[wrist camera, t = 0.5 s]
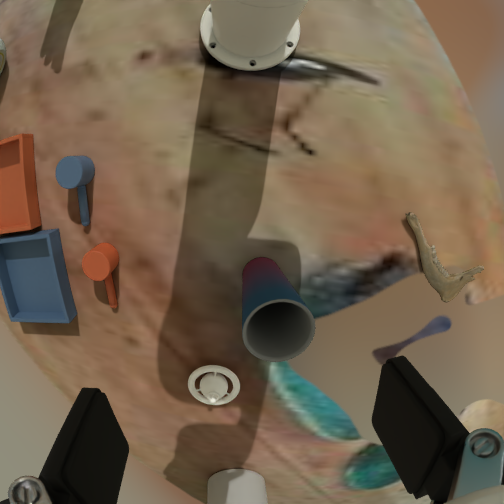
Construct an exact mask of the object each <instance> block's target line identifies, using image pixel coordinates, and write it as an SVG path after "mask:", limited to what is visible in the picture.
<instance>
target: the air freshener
mask: <svg viewBox="0 0 504 504" xmlns="http://www.w3.org/2000/svg"><path fill="white" fill-rule="evenodd" d="M5 60H6V48H5V44H4V42H3V40H2V39H1V38H0V75H1V72H2V70H3V67H4V64H5Z"/></svg>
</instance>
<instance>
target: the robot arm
mask: <svg viewBox="0 0 504 504" xmlns="http://www.w3.org/2000/svg"><path fill="white" fill-rule="evenodd" d="M307 2H308V0H211V4H210V5H209V6H208V7H207V9H206V10H205V12H204V13H203V16H202V19H201V25H200V31H201V37H202V41H203V43H204V45H205V47H206V49H207V50H208V51H209V53H210V54H211V55H212V56H213V57H214V58H215V59H217V60H218V61H219V62H221V63H223V64H225V65H227V66H229V67H232V68H235V69H240V70H248V71H256V70H263V69H267V68H270V67H273V66H275V65H277V64H279V63H281V62H282V61H284V60H285V59H286V58H288V56H289V55H290V54H291V53H292V52H293V50H294V49H295V47H296V45H297V43H298V40H299V36H300V24H299V21H298V17H299V15H300V14H301V12H302V10H303V9H304V7H305V5H306V4H307ZM287 45H290V47H288V46H287ZM212 46H215V48H211V47H212ZM251 63H253V64H254V66H251V65H250V64H251ZM372 424H373V427H374V429H375V431H376V433H377V435H378V437H379V439H380V441H381V442H382V444H383V446H384V448H385V450H386V452H387V454H388V456H389V457H390V459H391V461H392V463H393V465H394V467H395V469H396V471H397V473H398V475H399V476H400V478H401V480H402V482H403V484H404V486H405V488H406V490H407V492H408V493H409V494H412V493H413V494H414V496H415V498H416V499H418V498H421V497H423V496H425V495H427V494H428V495H429V497H430V499H431V503H430V504H504V440H503V439H502V437H501V436H500V435H499V434H498V433H497V432H496V431H494V430H491V429H487V428H481V429H477V430H474V431H473V432H471V433H469V432H468V431H467V429H466V428H465V427H464V426H463V424H462V423H461V422H460V421H459V420H458V418H457V417H456V416H455V415H454V413H453V412H452V411H451V410H450V408H449V407H448V406H447V405H446V404H445V403H444V401H443V400H442V399H441V398H440V397H439V395H438V394H437V393H436V392H435V390H434V389H433V388H432V387H431V386H429V384H428V383H427V382H426V381H425V379H424V378H423V377H422V376H421V375H420V374H419V372H418V371H417V370H416V369H415V368H414V367H413V365H412V364H411V363H410V362H409V361H408V360H407V358H406V357H404V356H399V357H395V358H391V359H388V360H387V361H386V364H384V365H383V366H382V369H381V375H380V380H379V386H378V391H377V396H376V401H375V406H374V410H373V415H372ZM128 453H129V445H128V442H127V440H126V438H125V436H124V434H123V432H122V430H121V428H120V426H119V424H118V422H117V419H116V417H115V415H114V413H113V410H112V408H111V406H110V404H109V401H108V399H107V396H106V394H105V393H102V392H101V390H100V389H98V388H82V389H81V391H80V393H79V395H78V397H77V399H76V401H75V402H74V404H73V406H72V408H71V410H70V412H69V414H68V416H67V418H66V420H65V422H64V424H63V426H62V428H61V430H60V432H59V434H58V436H57V438H56V441H55V443H54V445H53V447H52V449H51V451H50V453H49V456H48V457H47V460H46V462H45V464H44V466H43V469H42V471H41V473H40V475H39V478H36V477H33V476H22V477H20V478H18V479H16V480H15V481H14V482H13V483H12V484H11V486H10V487H9V491H8V497H9V498H8V499H6V500H3V501H1V502H0V504H117V500H118V495H119V491H120V486H121V482H122V478H123V474H124V470H125V465H126V461H127V457H128Z"/></svg>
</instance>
